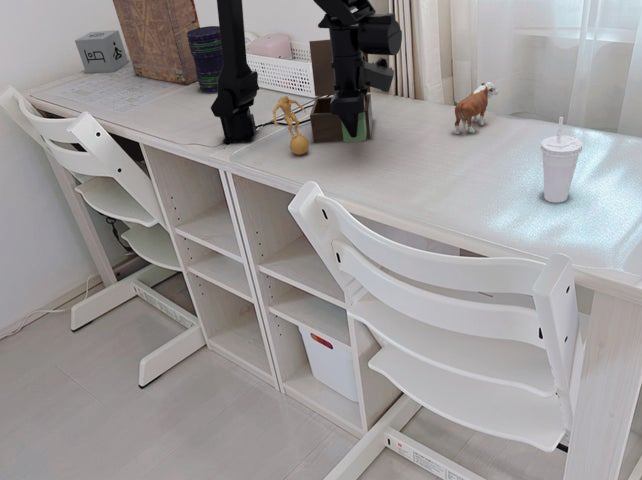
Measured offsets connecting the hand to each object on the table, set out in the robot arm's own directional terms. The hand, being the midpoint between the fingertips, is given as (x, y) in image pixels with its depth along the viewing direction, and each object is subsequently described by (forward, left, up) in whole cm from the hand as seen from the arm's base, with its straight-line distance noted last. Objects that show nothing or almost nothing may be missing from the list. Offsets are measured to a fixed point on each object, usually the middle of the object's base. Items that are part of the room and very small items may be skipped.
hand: (354, 132), depth 123 cm
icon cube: (-87, +80, -4) cm, 119 cm away
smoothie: (+35, -24, -4) cm, 43 cm away
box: (-4, +12, -4) cm, 13 cm away
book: (-61, +65, -4) cm, 89 cm away
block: (0, 0, -1) cm, 1 cm away
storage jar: (-43, +50, -4) cm, 66 cm away
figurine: (-13, +2, -4) cm, 14 cm away
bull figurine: (+25, +10, -4) cm, 27 cm away
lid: (-4, +18, +8) cm, 20 cm away
